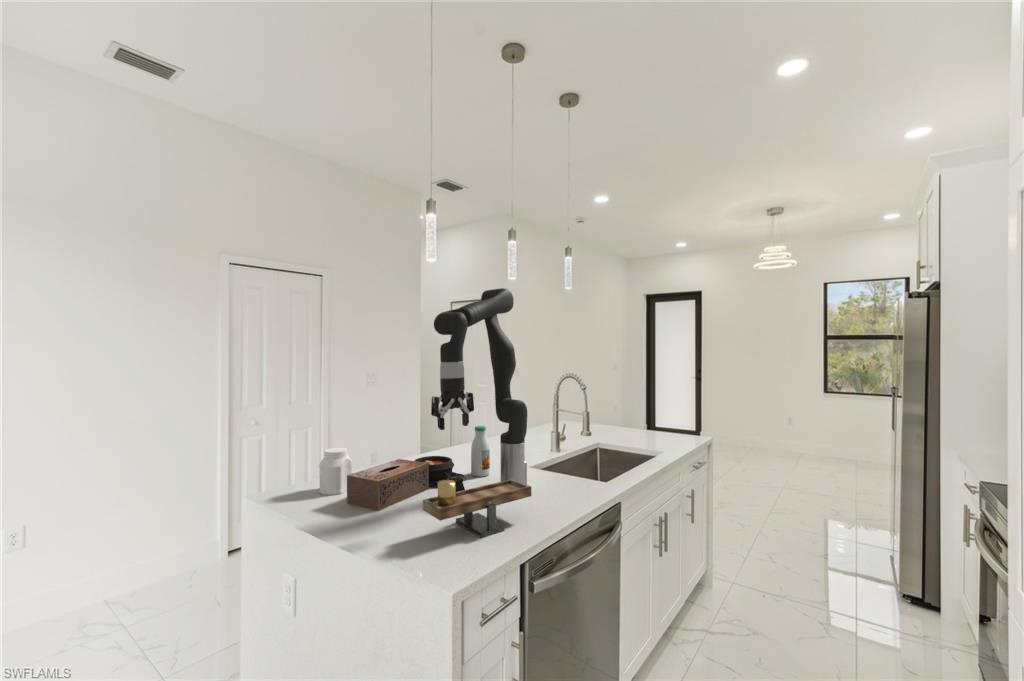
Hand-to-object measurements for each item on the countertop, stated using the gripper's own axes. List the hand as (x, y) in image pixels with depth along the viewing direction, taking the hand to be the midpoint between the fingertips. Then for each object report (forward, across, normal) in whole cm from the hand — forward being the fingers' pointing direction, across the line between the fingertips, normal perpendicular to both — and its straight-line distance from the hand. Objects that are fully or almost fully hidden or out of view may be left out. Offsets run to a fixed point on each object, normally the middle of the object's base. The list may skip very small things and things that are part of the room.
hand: (453, 427), depth 146 cm
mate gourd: (+29, -7, -13) cm, 32 cm away
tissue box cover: (+28, +8, -32) cm, 44 cm away
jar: (+28, +20, -51) cm, 62 cm away
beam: (+21, -1, +11) cm, 24 cm away
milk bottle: (+30, -33, -34) cm, 56 cm away
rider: (+19, +10, +11) cm, 24 cm away
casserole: (+29, -13, -39) cm, 50 cm away
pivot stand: (+28, -1, +11) cm, 30 cm away
